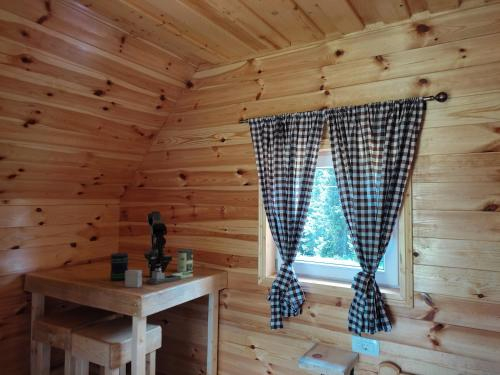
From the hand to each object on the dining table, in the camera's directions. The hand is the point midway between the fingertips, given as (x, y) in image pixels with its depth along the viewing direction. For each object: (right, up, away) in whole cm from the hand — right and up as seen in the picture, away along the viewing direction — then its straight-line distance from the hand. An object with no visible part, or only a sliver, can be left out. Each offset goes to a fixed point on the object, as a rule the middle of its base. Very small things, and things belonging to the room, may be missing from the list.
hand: (158, 271), depth 209 cm
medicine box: (-11, -6, -10) cm, 16 cm away
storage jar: (-25, -6, +6) cm, 26 cm away
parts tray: (+11, -7, +15) cm, 20 cm away
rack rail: (+3, -6, +3) cm, 7 cm away
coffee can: (+10, -7, +32) cm, 34 cm away
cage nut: (0, -6, 0) cm, 6 cm away
